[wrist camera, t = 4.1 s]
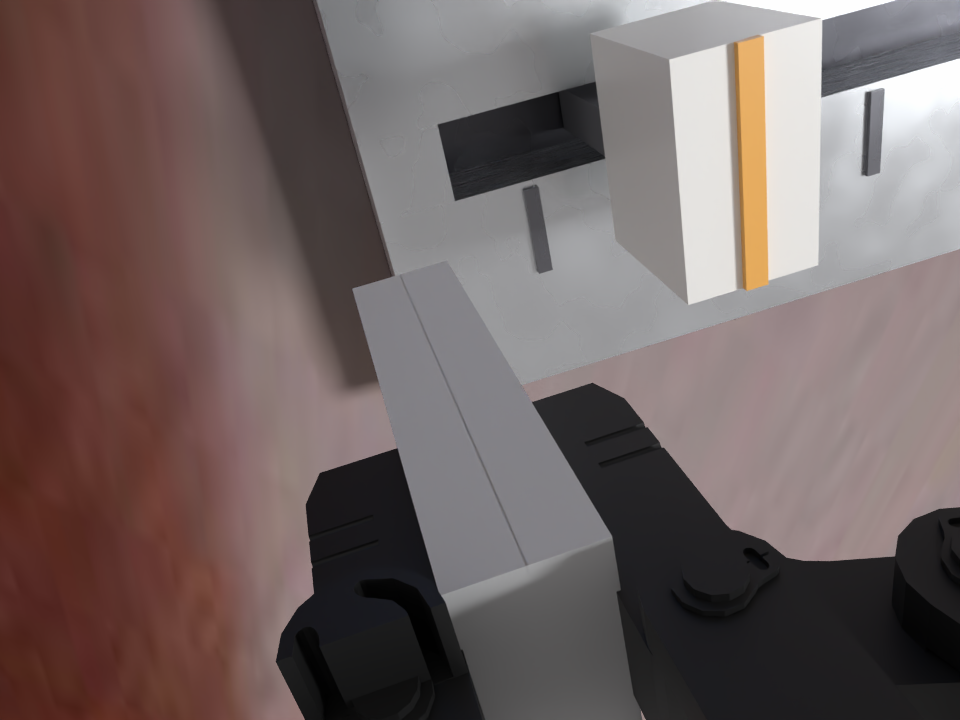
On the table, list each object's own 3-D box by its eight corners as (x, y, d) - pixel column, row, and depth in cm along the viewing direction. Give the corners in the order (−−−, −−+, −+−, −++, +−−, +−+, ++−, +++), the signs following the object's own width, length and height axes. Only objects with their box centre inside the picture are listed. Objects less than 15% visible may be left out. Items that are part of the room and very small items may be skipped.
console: (274, -134, 18) (276, -142, 16) (1301, -371, 21) (1424, -406, 19) (419, 371, 26) (434, 415, 23) (1174, 141, 29) (1254, 160, 26)
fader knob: (536, 15, 21) (673, 61, 14) (642, -12, 21) (827, 18, 14) (563, 194, 24) (691, 307, 17) (658, 167, 24) (822, 267, 17)
